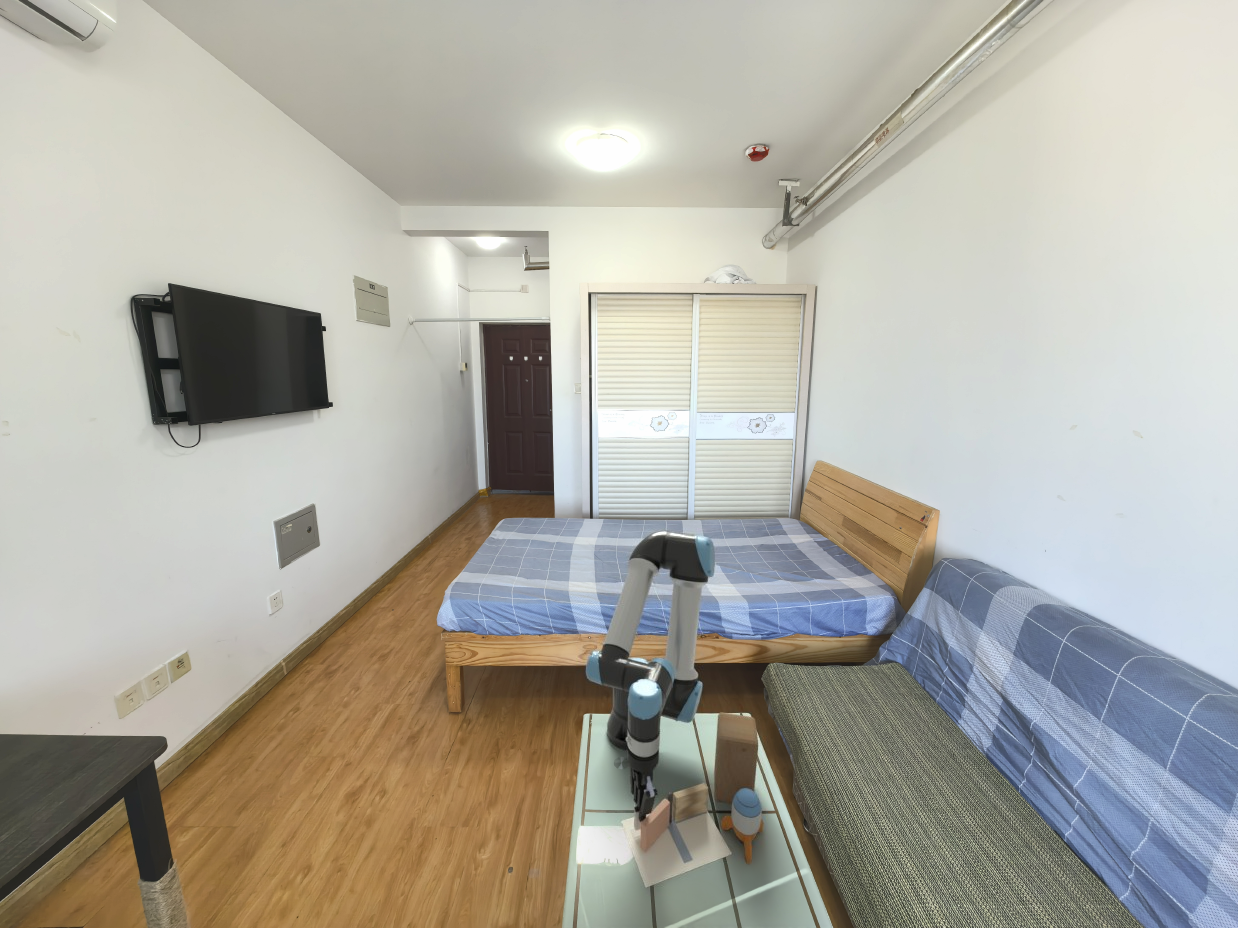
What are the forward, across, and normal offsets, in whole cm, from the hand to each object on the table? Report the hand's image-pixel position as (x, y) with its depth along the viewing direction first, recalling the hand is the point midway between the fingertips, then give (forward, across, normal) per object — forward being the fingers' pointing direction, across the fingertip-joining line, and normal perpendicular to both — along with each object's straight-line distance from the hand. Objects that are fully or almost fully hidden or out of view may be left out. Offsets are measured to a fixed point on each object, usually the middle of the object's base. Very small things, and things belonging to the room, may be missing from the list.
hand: (639, 826), depth 113 cm
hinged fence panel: (+1, +2, +3) cm, 4 cm away
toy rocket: (+2, +10, +25) cm, 27 cm away
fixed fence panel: (+2, 0, +13) cm, 13 cm away
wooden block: (+3, -3, +29) cm, 29 cm away
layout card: (+2, +4, +8) cm, 9 cm away
